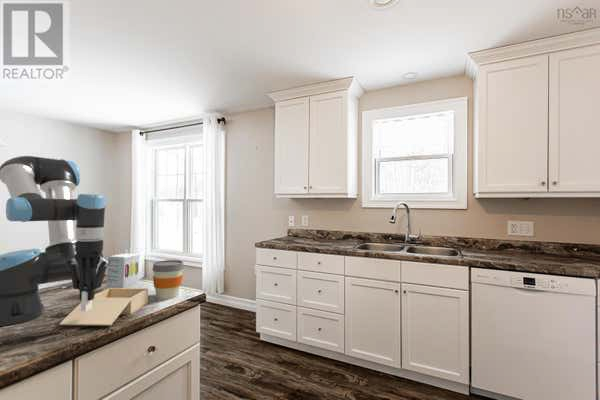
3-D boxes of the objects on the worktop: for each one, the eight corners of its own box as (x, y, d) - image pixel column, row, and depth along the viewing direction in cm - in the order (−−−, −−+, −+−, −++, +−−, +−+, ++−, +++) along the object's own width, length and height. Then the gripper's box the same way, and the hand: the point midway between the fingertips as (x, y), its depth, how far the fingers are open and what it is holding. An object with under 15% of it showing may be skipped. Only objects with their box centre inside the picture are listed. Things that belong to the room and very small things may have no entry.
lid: (86, 297, 101) (86, 299, 101) (59, 323, 89) (59, 325, 90) (131, 298, 101) (131, 299, 101) (110, 324, 90) (110, 325, 90)
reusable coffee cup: (162, 291, 129) (163, 259, 130) (187, 292, 128) (188, 260, 128) (145, 300, 117) (146, 265, 117) (172, 301, 116) (174, 266, 116)
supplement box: (122, 294, 123) (123, 257, 124) (105, 293, 125) (106, 256, 126) (139, 288, 133) (140, 253, 133) (122, 287, 134) (124, 252, 135)
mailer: (86, 314, 101) (87, 297, 101) (108, 302, 113) (109, 288, 113) (130, 314, 101) (131, 298, 102) (147, 303, 113) (148, 288, 114)
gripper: (60, 240, 88) (56, 313, 88) (101, 241, 89) (98, 314, 88) (78, 237, 96) (75, 305, 96) (116, 238, 96) (113, 306, 96)
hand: (86, 309), depth 92 cm, fingers closed
